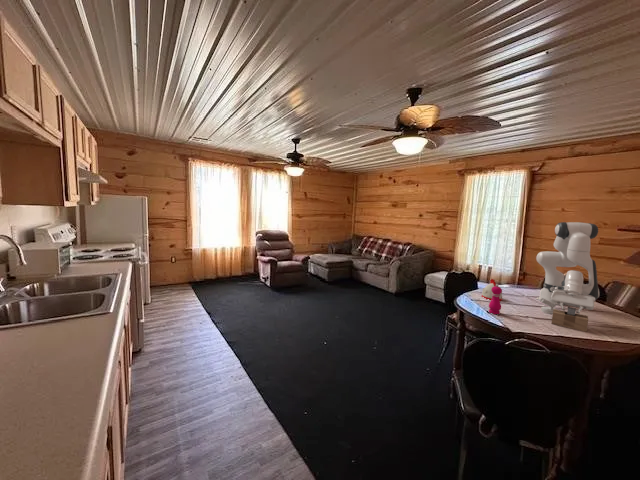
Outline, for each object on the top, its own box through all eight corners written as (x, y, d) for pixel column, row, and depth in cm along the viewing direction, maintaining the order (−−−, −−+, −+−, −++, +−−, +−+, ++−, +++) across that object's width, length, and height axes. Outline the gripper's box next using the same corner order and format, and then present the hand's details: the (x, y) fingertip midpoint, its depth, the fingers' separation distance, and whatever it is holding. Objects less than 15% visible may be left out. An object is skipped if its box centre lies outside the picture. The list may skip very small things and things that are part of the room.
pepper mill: (485, 311, 195) (488, 282, 193) (495, 310, 196) (498, 282, 193) (492, 315, 188) (495, 285, 186) (503, 315, 189) (506, 285, 186)
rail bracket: (565, 322, 176) (568, 306, 175) (572, 324, 174) (575, 308, 173) (564, 324, 173) (568, 308, 172) (572, 326, 171) (575, 310, 170)
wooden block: (552, 320, 182) (553, 308, 181) (585, 327, 172) (587, 315, 171) (551, 323, 176) (552, 312, 175) (586, 331, 166) (588, 319, 165)
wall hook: (537, 296, 201) (553, 297, 199) (536, 309, 202) (552, 310, 200) (544, 300, 192) (561, 301, 190) (542, 313, 194) (559, 315, 192)
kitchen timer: (496, 295, 230) (498, 277, 228) (505, 301, 217) (507, 282, 215) (478, 294, 232) (480, 277, 230) (486, 300, 218) (488, 281, 216)
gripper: (594, 298, 174) (593, 318, 167) (551, 291, 187) (549, 309, 181) (596, 293, 170) (594, 313, 164) (552, 286, 183) (549, 304, 177)
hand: (570, 311), depth 172 cm, fingers open, 5 cm apart
